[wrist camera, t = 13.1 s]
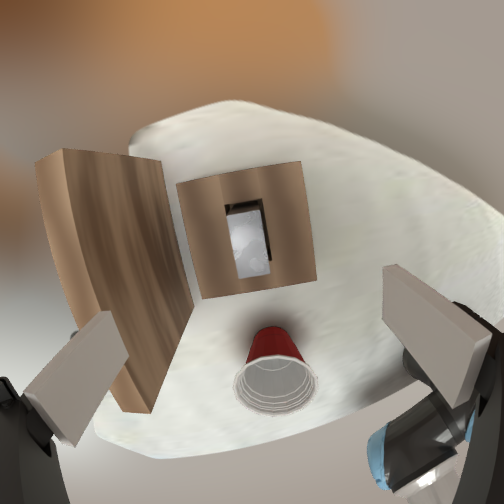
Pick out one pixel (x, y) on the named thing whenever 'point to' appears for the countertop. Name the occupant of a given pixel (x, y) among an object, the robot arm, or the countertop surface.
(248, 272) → the dark grey rectangular post
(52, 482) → the robot arm
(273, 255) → the wooden panel stand
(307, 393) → the plastic cup
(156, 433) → the countertop surface
